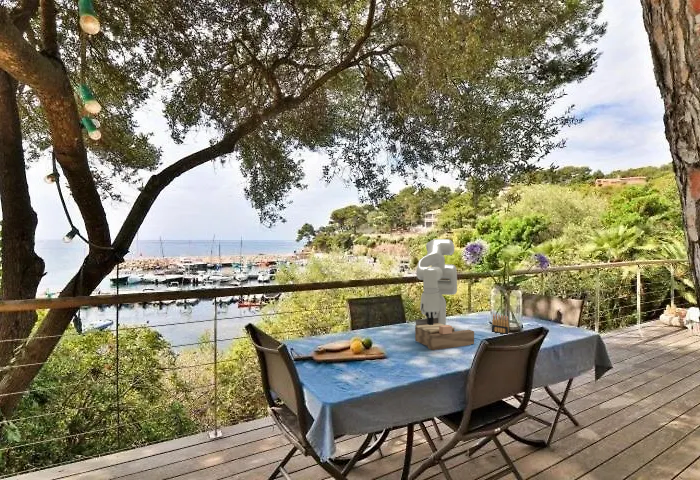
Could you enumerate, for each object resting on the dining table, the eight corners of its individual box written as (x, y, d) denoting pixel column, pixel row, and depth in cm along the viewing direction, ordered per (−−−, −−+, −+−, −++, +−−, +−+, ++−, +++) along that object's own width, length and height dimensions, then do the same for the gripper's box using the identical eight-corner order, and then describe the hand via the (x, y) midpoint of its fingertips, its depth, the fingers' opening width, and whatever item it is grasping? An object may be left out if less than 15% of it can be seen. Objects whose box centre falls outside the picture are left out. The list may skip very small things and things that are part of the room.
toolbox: (412, 341, 254) (412, 327, 254) (451, 336, 266) (451, 323, 265) (432, 350, 235) (432, 335, 235) (474, 344, 247) (474, 330, 246)
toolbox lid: (415, 326, 255) (415, 319, 255) (437, 324, 261) (437, 317, 261) (430, 332, 240) (430, 325, 240) (454, 329, 247) (454, 322, 246)
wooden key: (439, 333, 242) (439, 325, 241) (448, 331, 244) (448, 324, 244) (443, 334, 238) (443, 327, 238) (452, 333, 241) (452, 326, 241)
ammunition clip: (491, 332, 274) (491, 313, 273) (493, 332, 275) (493, 313, 275) (508, 335, 266) (508, 316, 266) (509, 335, 268) (509, 315, 267)
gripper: (437, 289, 243) (437, 322, 243) (414, 290, 237) (414, 324, 237) (446, 291, 236) (445, 324, 236) (422, 292, 230) (422, 327, 230)
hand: (430, 324), depth 236 cm, fingers closed
